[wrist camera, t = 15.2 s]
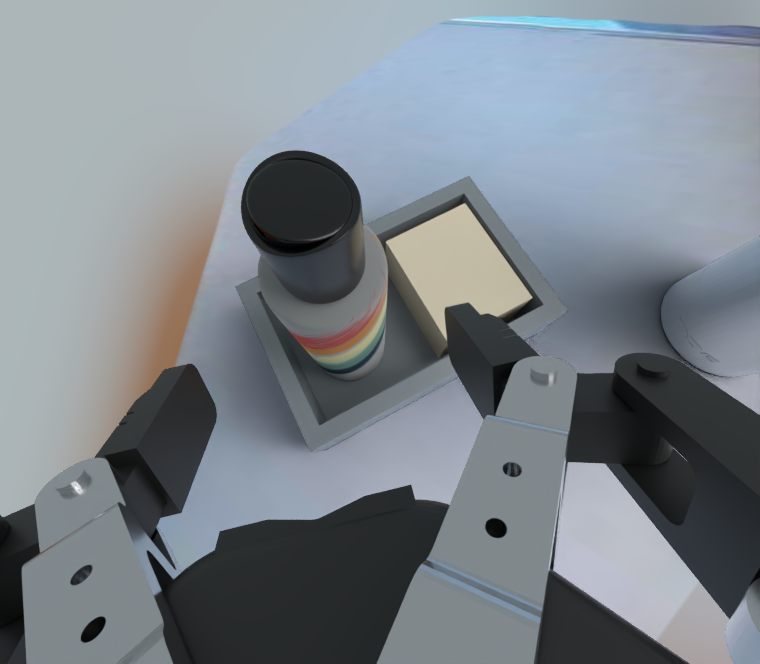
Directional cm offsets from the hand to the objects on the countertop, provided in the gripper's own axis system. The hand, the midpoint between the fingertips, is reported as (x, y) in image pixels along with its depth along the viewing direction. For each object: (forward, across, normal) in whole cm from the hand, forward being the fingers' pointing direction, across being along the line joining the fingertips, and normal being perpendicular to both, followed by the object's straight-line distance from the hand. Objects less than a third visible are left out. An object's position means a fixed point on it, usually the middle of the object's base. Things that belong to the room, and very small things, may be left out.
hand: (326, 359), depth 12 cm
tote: (+18, -4, +9) cm, 20 cm away
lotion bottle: (+16, 0, +9) cm, 19 cm away
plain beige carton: (+18, -9, +7) cm, 21 cm away
